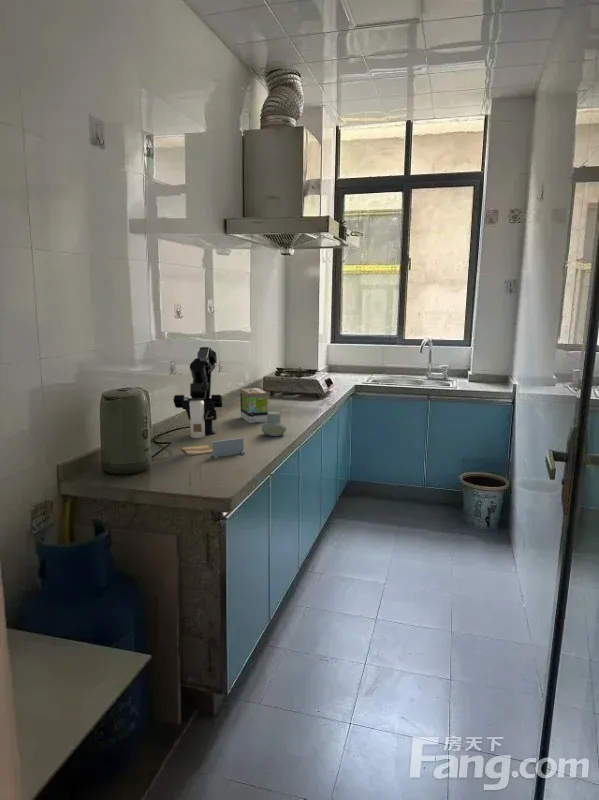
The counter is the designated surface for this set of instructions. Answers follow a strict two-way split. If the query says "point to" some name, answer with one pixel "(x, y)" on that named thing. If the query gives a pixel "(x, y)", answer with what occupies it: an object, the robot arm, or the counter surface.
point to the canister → (197, 418)
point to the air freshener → (274, 425)
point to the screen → (228, 447)
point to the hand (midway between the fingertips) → (196, 419)
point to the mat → (197, 450)
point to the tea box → (254, 405)
